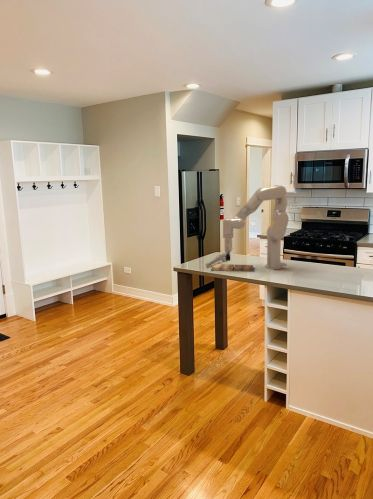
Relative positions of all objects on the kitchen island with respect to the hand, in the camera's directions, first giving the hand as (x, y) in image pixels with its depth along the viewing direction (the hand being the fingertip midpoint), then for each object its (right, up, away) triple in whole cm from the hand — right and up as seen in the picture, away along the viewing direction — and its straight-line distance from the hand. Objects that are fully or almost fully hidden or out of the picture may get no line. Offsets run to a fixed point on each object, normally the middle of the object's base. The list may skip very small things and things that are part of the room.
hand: (228, 260), depth 276 cm
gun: (-6, -4, +19) cm, 20 cm away
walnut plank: (+11, -6, -1) cm, 13 cm away
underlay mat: (+4, -7, +1) cm, 8 cm away
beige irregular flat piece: (-4, -6, +2) cm, 7 cm away
